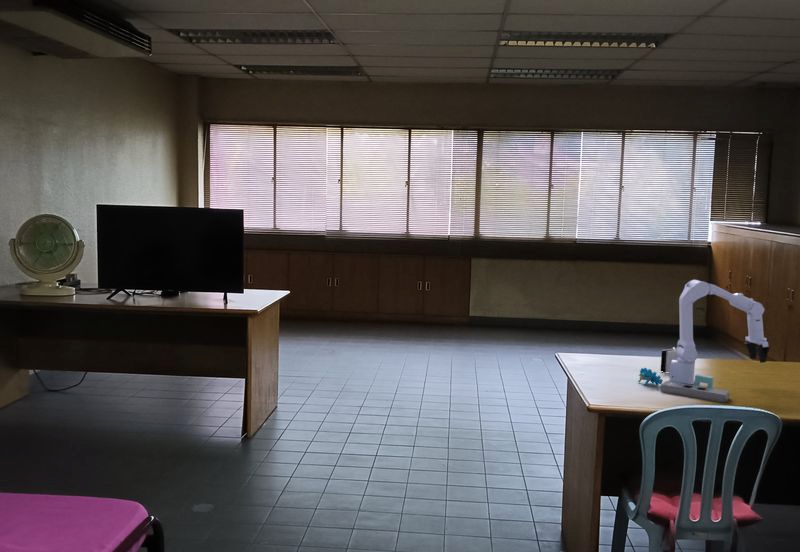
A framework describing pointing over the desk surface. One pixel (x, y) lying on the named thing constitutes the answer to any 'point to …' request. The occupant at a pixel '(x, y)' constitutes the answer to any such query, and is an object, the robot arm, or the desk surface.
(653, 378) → the blue lumpy piece
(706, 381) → the upright aqua box
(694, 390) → the grey board with slots
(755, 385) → the desk surface
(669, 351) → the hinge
